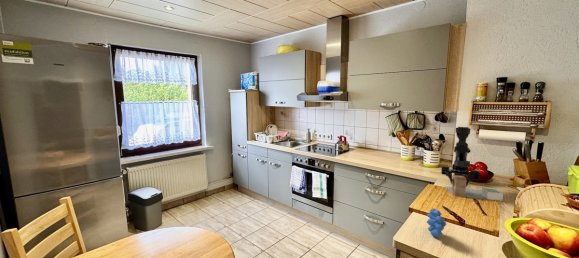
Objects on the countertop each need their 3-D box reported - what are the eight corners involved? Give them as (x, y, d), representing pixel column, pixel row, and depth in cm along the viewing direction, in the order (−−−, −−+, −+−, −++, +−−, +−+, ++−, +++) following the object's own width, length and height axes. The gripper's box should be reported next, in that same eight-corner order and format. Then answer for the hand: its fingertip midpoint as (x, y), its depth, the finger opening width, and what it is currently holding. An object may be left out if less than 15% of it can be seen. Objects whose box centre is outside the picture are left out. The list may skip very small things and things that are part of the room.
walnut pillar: (451, 192, 145) (453, 175, 144) (461, 193, 144) (462, 175, 143) (454, 196, 140) (456, 177, 139) (464, 197, 139) (466, 178, 138)
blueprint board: (444, 187, 156) (445, 180, 155) (488, 191, 149) (489, 184, 149) (453, 196, 141) (454, 189, 140) (503, 201, 134) (504, 193, 133)
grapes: (452, 246, 93) (454, 216, 92) (433, 244, 95) (435, 214, 93) (439, 230, 105) (441, 203, 103) (422, 228, 106) (424, 202, 105)
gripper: (442, 153, 148) (440, 175, 140) (481, 157, 137) (480, 181, 130) (442, 163, 155) (440, 184, 148) (479, 167, 145) (478, 191, 137)
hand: (459, 185), depth 140 cm, fingers open, 7 cm apart
